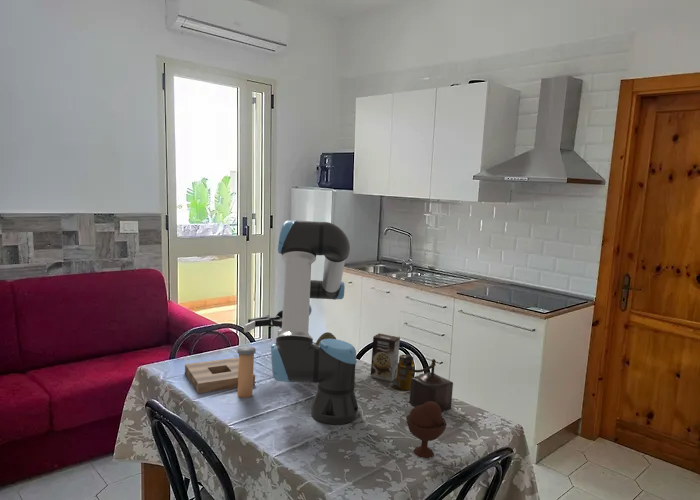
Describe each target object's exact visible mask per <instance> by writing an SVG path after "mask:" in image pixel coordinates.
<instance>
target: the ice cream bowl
mask: <svg viewBox="0 0 700 500" xmlns="http://www.w3.org/2000/svg"><path fill="white" fill-rule="evenodd" d="M442 413H443V412H442V411H441V408H440V406H439V405H438V404H437V403H436V402H432V401H429V402H425V403H424V404H423V405H422V404H421V405H418V406H416V407H414V406H413V408H412V409H410V412H409V414H408V415H407V416H405V417H406V424H407V427H408V429H409V432H410V434H411V435H412V436H414V438H417V439H419V440H420V441H421V442H420V445H419V446H416V447H415V448H413V449H414V450H413V453H414V455H415V456H417V457H418V458H421V457H423V458H422V459H430V457H431V458H432V457H434V454H435V453H434V451H433V449H432V448H430V447H429V446H428V443H429V442H431V441H434V440H435V441H436V440H437V439H438V438H439V437H440V436H441V435H442V434H443V433H444V432H445V430H446V428H447V423H448V422H446V419H445V418H444V416H443V414H442Z"/></svg>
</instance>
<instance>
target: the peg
mask: <svg viewBox="0 0 700 500" xmlns="http://www.w3.org/2000/svg"><path fill="white" fill-rule="evenodd" d="M256 350H257V348H256V347H254V346H248V345H245V346H240V347H238V348H237V351H236V352H237V354H238V358H239V364H238V387H237V397H238V398H243V399H248V398H252V396H253V391H254V390H253V389H254V385H253V373H254V367H255V366H254V363H255V353H256Z"/></svg>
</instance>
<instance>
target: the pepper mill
mask: <svg viewBox="0 0 700 500" xmlns="http://www.w3.org/2000/svg"><path fill="white" fill-rule="evenodd" d="M404 355H405V356H403V358H402V362H403V363H404V364H405V367H404V368H405V369H406V370H410V371H412V372H414V373H417V374H419V373H420V374H419V375H415V376H413V377H411V386H410V392H409V399H408V404H410V405H411V406H413V408H414V407H416V406H418V405H421V404H422V405H423V404H424V403H425V402H429V401H432V402H436V403H437V404H438V405H439V406H440V408H441V411H442V413H443V412H446V411H447V410H448V411H449V410H450V409H452V400H453V398H452V397H453V391H454V390H453V389H454V382H453V381H451V380H450V379H447V378H445V377H442V376H440V375H438V374H437V373H435V366H436V359H434V358H432V359H431V364H430V365H428V366H427V367H425V368H424V367H423V368H421V369H415V368H414V369H412V368H413V366H412V362H413V363H414V360H413V358H414V356H412V355H410V354H404ZM430 369H431V371H430V372H427V371H429V370H430Z"/></svg>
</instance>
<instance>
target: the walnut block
mask: <svg viewBox="0 0 700 500" xmlns="http://www.w3.org/2000/svg"><path fill="white" fill-rule="evenodd" d="M238 364H239V356H238V357H232V358H231V357H230V358H225V359H224V358H223V359H215V360H208V361H199V362H192V363H185V364H184V373H185V375H186V377H187V379H188V381H189V382H190V383H191V384H192V386H193V388H194V389H195V391H196V392H198V393H197V394H202V393H203V394H204V393H210V392H211V393H212V392H216V391H222V390H223V391H224V390H227V389H233V388H234V389H236V388H238ZM255 384H256V374H255V373H254V372H253V386H255Z"/></svg>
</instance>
